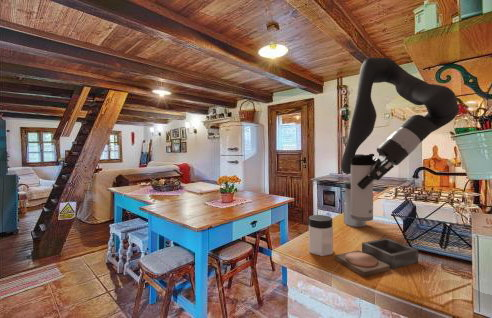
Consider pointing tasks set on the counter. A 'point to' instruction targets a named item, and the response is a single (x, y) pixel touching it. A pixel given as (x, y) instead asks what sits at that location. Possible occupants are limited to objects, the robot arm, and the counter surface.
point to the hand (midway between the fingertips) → (356, 185)
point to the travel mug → (361, 197)
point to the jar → (320, 235)
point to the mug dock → (378, 257)
